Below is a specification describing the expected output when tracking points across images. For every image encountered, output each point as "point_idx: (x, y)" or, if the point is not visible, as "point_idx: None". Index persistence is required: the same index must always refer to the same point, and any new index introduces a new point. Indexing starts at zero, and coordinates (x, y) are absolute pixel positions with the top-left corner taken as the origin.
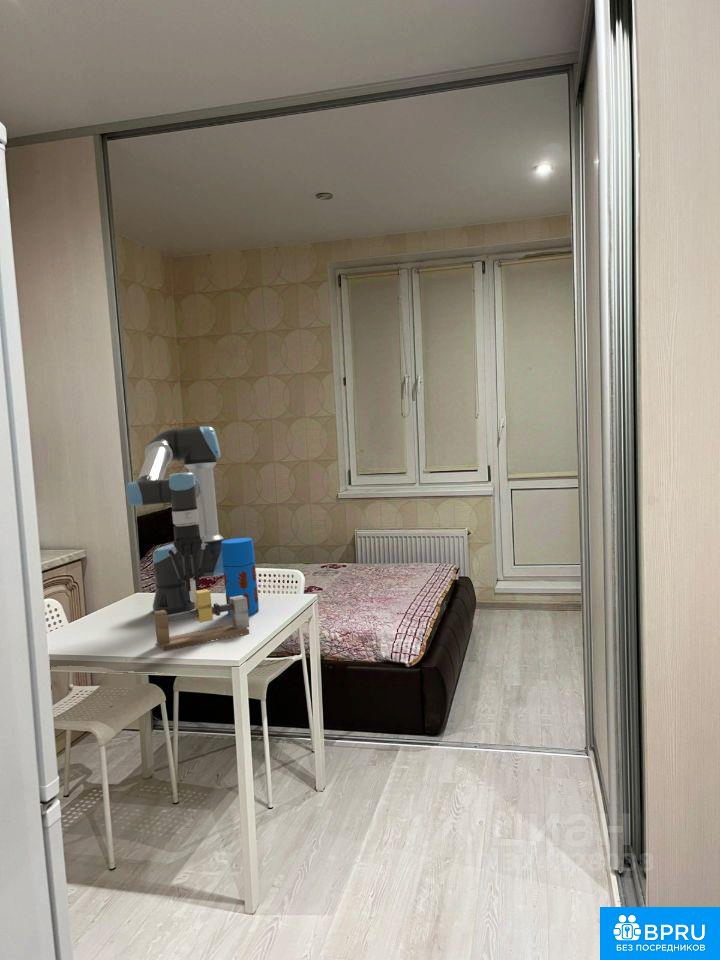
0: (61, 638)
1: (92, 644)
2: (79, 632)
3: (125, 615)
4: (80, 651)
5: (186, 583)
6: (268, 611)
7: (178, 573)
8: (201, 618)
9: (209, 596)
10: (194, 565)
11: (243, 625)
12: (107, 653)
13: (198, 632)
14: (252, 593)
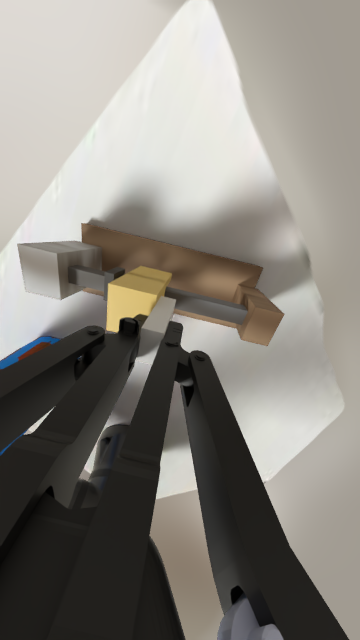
0: (292, 451)
1: (293, 402)
2: (262, 454)
3: (184, 465)
4: (328, 387)
5: (179, 340)
6: (17, 329)
7: (217, 381)
8: (166, 274)
9: (120, 280)
10: (101, 381)
11: (84, 244)
12: (319, 344)
13: None
14: (8, 358)
